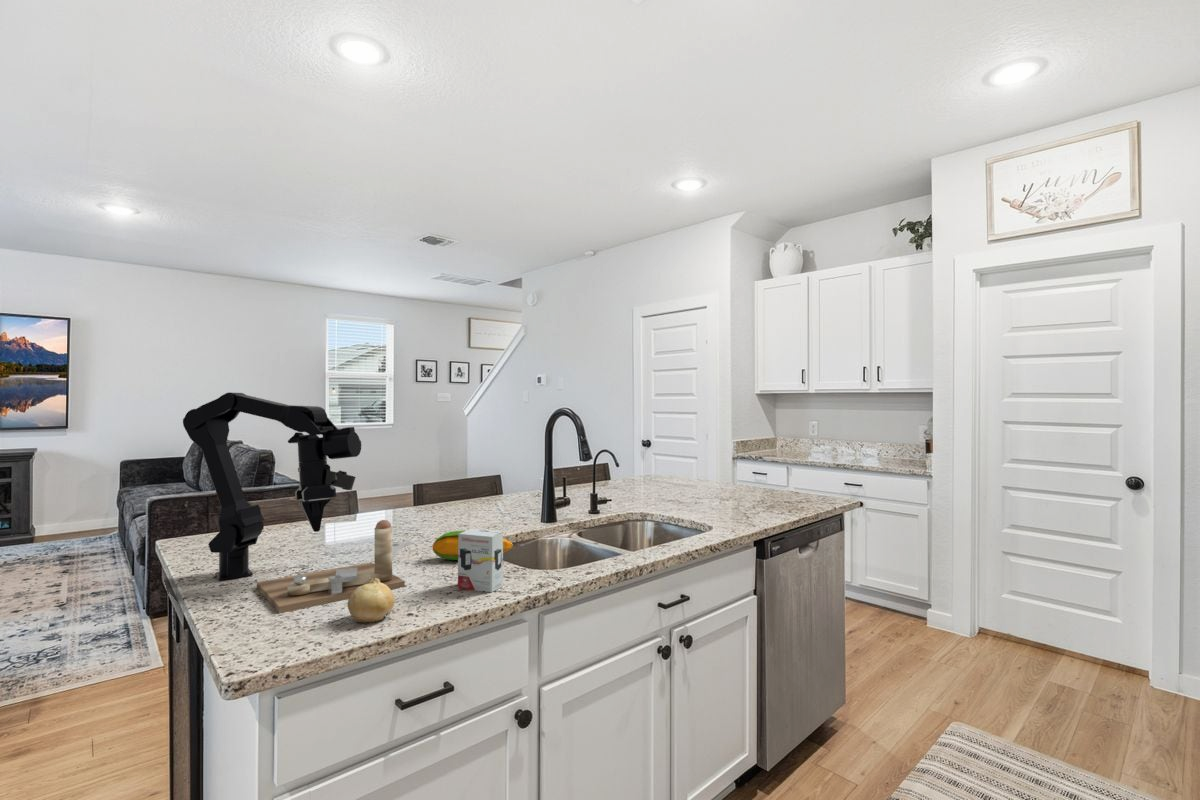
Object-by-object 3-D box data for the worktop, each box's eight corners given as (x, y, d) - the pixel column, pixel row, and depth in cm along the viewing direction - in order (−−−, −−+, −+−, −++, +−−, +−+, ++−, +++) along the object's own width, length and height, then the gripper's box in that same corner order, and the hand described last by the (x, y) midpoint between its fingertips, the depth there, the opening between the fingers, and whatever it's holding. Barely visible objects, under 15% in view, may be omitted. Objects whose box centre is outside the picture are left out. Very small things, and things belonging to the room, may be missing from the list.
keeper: (292, 593, 116) (292, 577, 116) (354, 581, 124) (354, 566, 124) (302, 602, 110) (303, 586, 110) (367, 589, 118) (367, 573, 118)
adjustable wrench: (388, 570, 138) (388, 563, 138) (360, 571, 137) (360, 564, 137) (412, 544, 163) (412, 538, 163) (389, 545, 162) (389, 539, 162)
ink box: (456, 588, 123) (456, 532, 123) (469, 582, 127) (469, 528, 127) (491, 593, 120) (491, 535, 120) (503, 586, 124) (503, 531, 124)
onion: (402, 619, 105) (402, 579, 105) (358, 630, 100) (358, 589, 100) (383, 608, 111) (383, 571, 111) (340, 618, 105) (340, 579, 105)
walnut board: (256, 588, 123) (256, 582, 123) (371, 567, 139) (371, 562, 139) (279, 613, 108) (279, 606, 108) (404, 586, 124) (404, 581, 124)
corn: (435, 526, 149) (514, 525, 150) (436, 555, 149) (514, 553, 151) (429, 534, 141) (512, 533, 143) (430, 565, 142) (512, 563, 143)
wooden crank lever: (288, 596, 113) (288, 532, 113) (286, 590, 116) (286, 528, 117) (394, 579, 124) (394, 520, 124) (389, 574, 127) (389, 517, 127)
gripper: (358, 456, 127) (363, 527, 126) (344, 460, 143) (348, 524, 141) (302, 460, 121) (306, 536, 120) (293, 464, 136) (296, 531, 135)
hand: (316, 531), depth 129 cm, fingers closed
